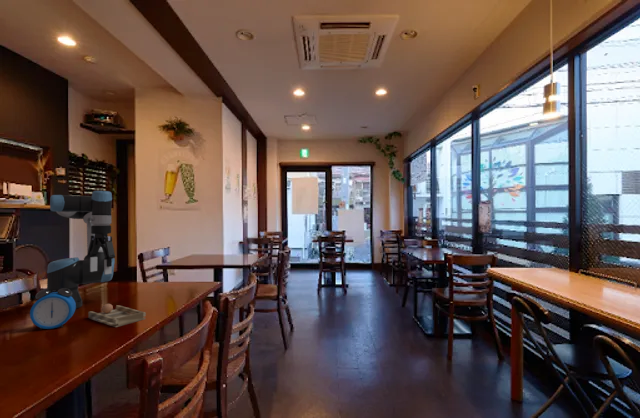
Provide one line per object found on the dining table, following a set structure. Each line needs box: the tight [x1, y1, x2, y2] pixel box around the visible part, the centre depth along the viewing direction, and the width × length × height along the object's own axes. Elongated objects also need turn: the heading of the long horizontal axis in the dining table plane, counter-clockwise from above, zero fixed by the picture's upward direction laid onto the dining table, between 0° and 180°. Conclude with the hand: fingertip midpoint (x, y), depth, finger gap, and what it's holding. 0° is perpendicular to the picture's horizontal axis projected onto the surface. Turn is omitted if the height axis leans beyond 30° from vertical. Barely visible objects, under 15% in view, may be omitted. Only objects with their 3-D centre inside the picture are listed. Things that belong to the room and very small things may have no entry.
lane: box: [88, 304, 147, 328], centre depth 137 cm, size 22×12×3 cm, turn 59°
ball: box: [101, 303, 114, 313], centre depth 141 cm, size 4×4×4 cm
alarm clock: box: [29, 288, 77, 331], centre depth 127 cm, size 13×6×15 cm, turn 115°
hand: (100, 272), depth 145 cm, fingers open, 12 cm apart
